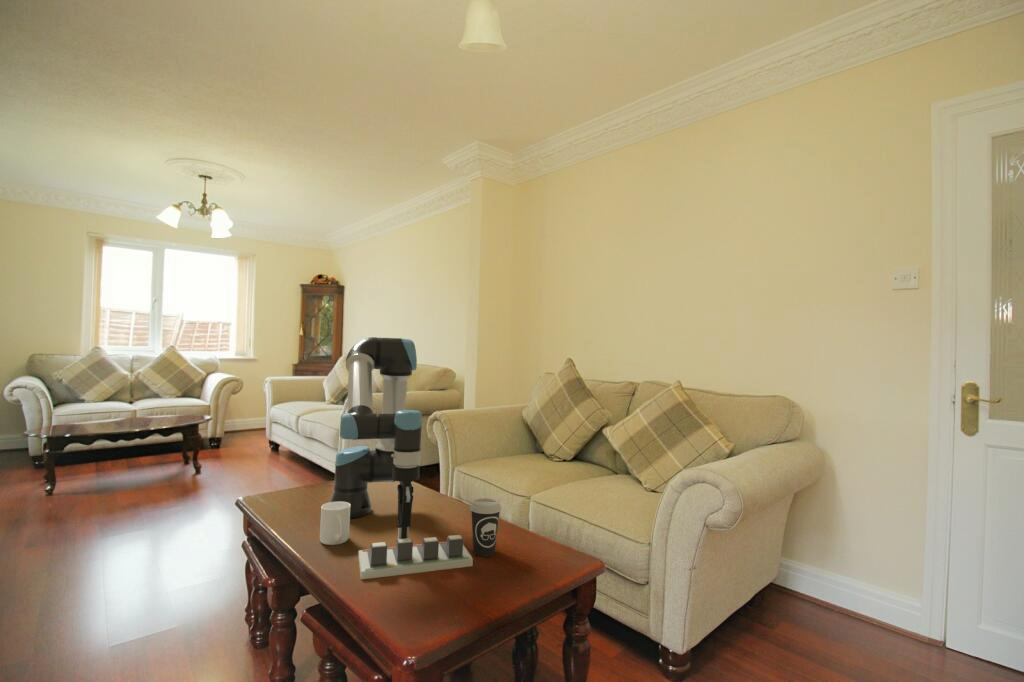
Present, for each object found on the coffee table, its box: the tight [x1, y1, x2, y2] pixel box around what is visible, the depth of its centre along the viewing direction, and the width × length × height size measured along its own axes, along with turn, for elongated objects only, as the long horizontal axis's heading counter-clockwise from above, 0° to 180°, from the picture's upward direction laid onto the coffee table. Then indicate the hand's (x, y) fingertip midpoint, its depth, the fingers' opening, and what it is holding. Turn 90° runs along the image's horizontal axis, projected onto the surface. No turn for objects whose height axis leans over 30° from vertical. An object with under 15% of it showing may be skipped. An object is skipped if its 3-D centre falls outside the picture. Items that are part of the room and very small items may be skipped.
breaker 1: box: [370, 541, 388, 565], centre depth 129 cm, size 3×4×5 cm
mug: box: [319, 501, 351, 546], centre depth 147 cm, size 9×12×11 cm
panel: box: [357, 540, 474, 580], centre depth 135 cm, size 14×30×2 cm, turn 111°
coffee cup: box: [469, 497, 502, 557], centre depth 144 cm, size 10×10×15 cm
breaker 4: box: [446, 534, 464, 557], centre depth 136 cm, size 3×4×5 cm
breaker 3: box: [421, 536, 440, 559], centre depth 133 cm, size 3×4×5 cm
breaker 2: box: [395, 537, 414, 561], centre depth 132 cm, size 3×4×5 cm
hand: (402, 549), depth 135 cm, fingers closed
